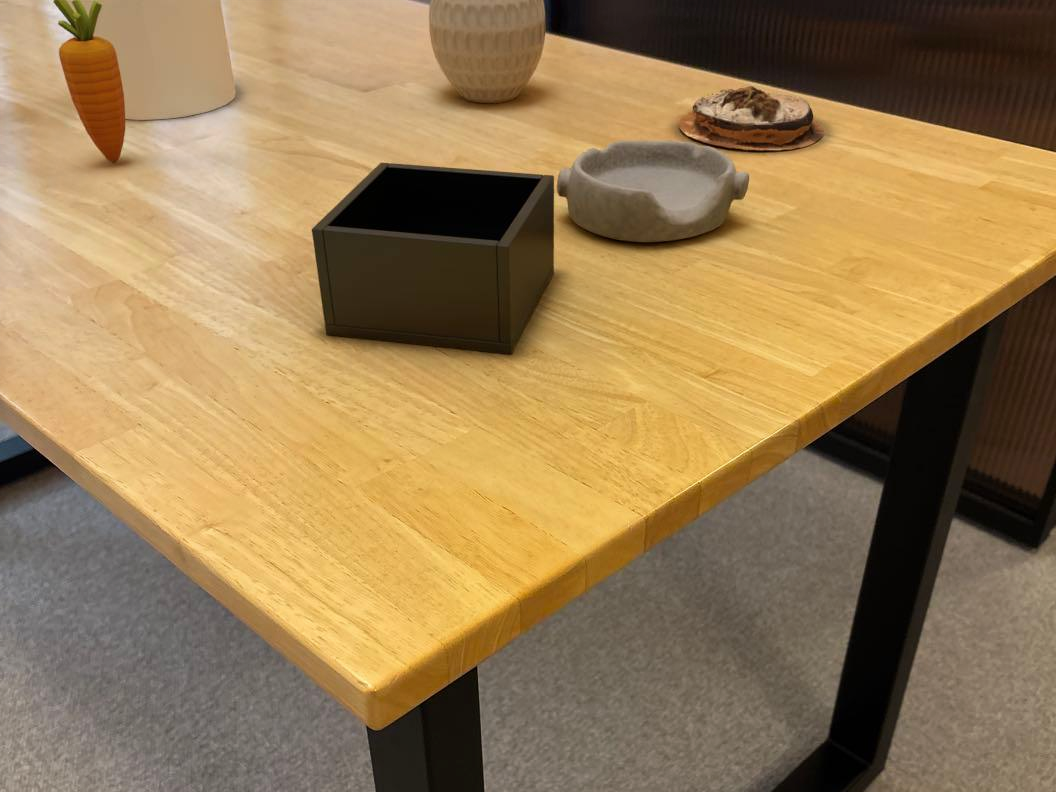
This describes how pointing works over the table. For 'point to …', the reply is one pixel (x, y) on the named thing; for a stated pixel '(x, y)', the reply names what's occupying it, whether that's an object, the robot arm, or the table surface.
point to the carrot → (93, 78)
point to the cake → (752, 121)
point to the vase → (487, 45)
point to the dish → (651, 190)
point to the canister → (168, 55)
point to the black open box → (437, 256)
